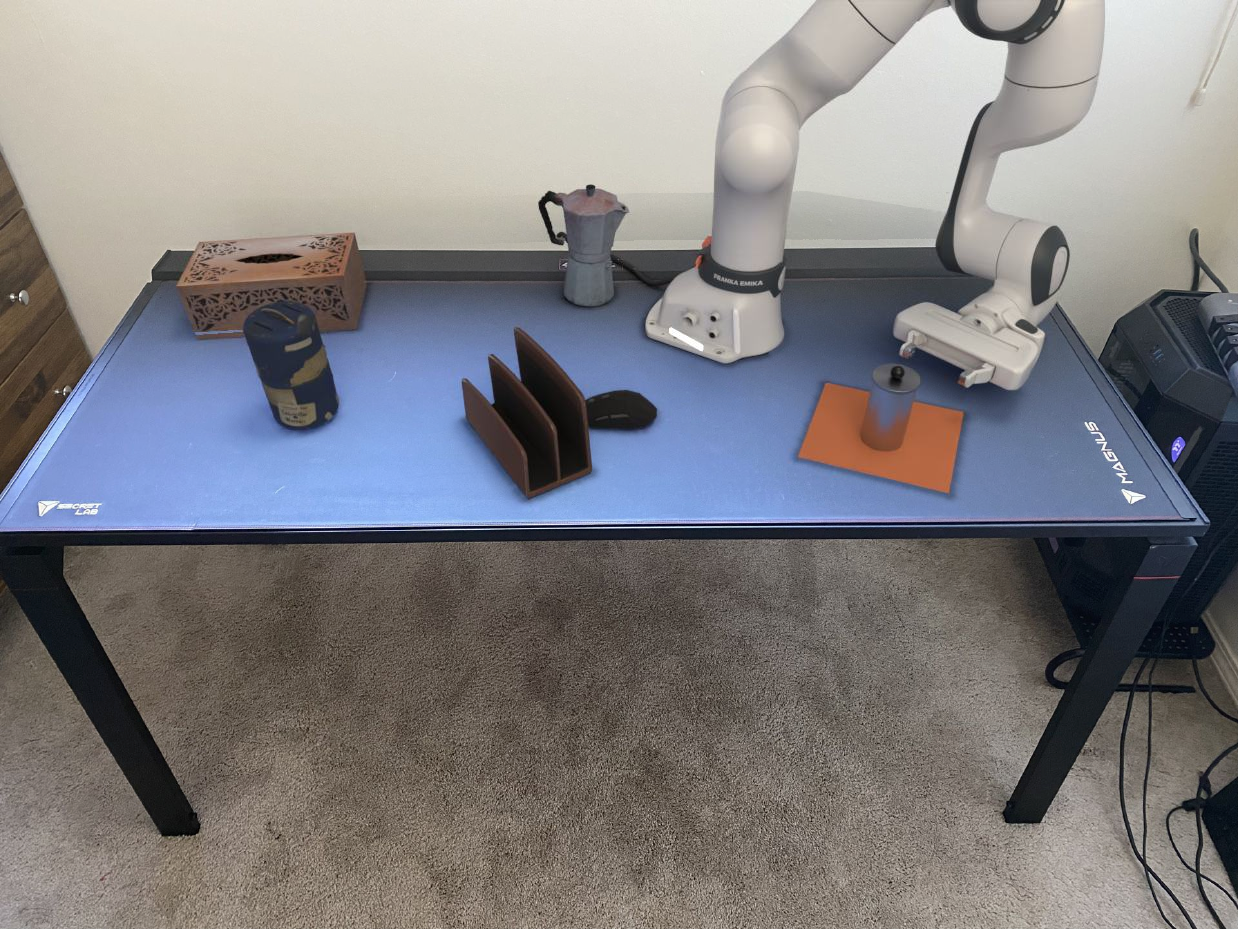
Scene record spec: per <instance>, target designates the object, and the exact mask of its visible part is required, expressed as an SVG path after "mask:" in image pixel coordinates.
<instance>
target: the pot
mask: <svg viewBox="0 0 1238 929" xmlns="http://www.w3.org/2000/svg"><path fill="white" fill-rule="evenodd" d="M921 383H922V379H921V376H920V375H919V374H918V372H917V371H916V370H914V369H912V368H911V367H909V366H906V365H904V364H901V363H885V364H880V365H879V366H876V367H875V368H874V370H873V371H872V373H871V385H870V391H869V392H870V394H869V399H868V403H867V408H866V412H865V417H864V422H863V426H862V431H861V439H862V441H863V442H864V443H865V444H866V445H867V446H868V447H870V448H872V449H875V450H878V451H886V452H887V451H894V450H896V449H898V448H900V447H901V446H902V444H903V441H904V437H905V433H906V429H907V426H908V422H909V418H910V414H911V410H912V407H913V403H914V402H915V398H916V395H917V391H918V389H919V388H920V385H921Z"/></svg>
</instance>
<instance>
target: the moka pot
mask: <svg viewBox="0 0 1238 929" xmlns="http://www.w3.org/2000/svg"><path fill="white" fill-rule="evenodd" d="M550 202H551V203H552V204H554V205H555V206H557V207H558V206H559V207H561V208H562V210H563V218H564V225H565V233H566V234H567V241H568V244H567V250H568V253H567V259H566V260H567V261H566V269H565V276H564V281H563V282H564V283H563V296H564V297H565V299H567V301H569V302H571V303H573V304H575V305H578V306H582V307H597V306H602V305H604V304H606V303H608V302H610V301H611V300H612V298H613V297H614V296H615V289H614V280H613V279H614V278H613V269H612V268H613V267H612V260H611V258H610V254H612V248H613V247H614V242H615V237H616V232H617V231H618V229H619V227H620V226H621V223H622V221H623V219H624V218H625V216H626V215H627V214H629V213H630V209H629V206H626V204H625V203H622V202H620V201H619V200H618V196H617V194H614V193H612V192H609V191H607V190H604V189H603V188H596V185H594V184H591V183H590V184H586V186H585V188H577V189H576V190H573V191H571V192H569V193H565V192H558V193H557V192H555V191H552V190H547V192H545V193H544V195H542V197H541V198H540V200H538V201H537V205H538V211H539V213H540V217H541V219H542V220H543V224H544V226H545V229H546V232H547V235H548V238H549V241H550V243H551V244H553V245H558V246H565V245H564V244H565V243H566V241H565V240H564V239H560V238H558V237H556V235H557V234H556V233H555V231H554V230H553V224H552V220H551V218H550V216H549V212H548V209H547V207H546V205H547V204H548V203H550Z"/></svg>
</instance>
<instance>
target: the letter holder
mask: <svg viewBox="0 0 1238 929" xmlns="http://www.w3.org/2000/svg"><path fill="white" fill-rule="evenodd" d="M513 338H514V344H515V350H516V357H517V365H518V371H519V376H520V378H519V377H518V376H517V375H516V374H515V373H514V372H513V371H512V370H511V369H510V367H508V366H507V365H506V364H504V362H503V361H502V360H501V359H499V357H497V356H496V355H495V354H494V353H489V354H488V356H487V361H488V368H489V375H490V382H491V388H492V389H491V390H492V395H493V402H494V403H491V402H490V401H489V400H488V399H487V398H486V397H485V395H483V393H482V392H481V391H479V390H478V388H477V387H476V386H474V385H473V383H472V382H471V381H470V380H469V379H468V378H465V377H463V378H462V379H461V390H462V398H463V405H464V413H465V419H466V421H467V422H468V423H469V425H470V426H471V427H472V429H473V430H474V431H475V433H476V434H477V435H478V436H479V438H480V440H482V441H483V443H484V445H485V446H487V448H488V449H489V451H490V452H491V453H492V454H493V456H494V458H496V460H497V461H498V463H499V464H500V465H501V466H502V468H503V469H504V470H505V471H506V473H507V475H508V476H509V477H510V478H511V480H512V481H513V482H514V483H515V484H516V486H517V487H518V488H519V489H520V491H521V492H522V493H523V495H524V496H525V497H526V499H531V498H534V497H536V496H538V495H541V494H543V493H546V492H548V491H550V490H554V489H555V488H558V487H561V486H562V485H565V484H567V483H570V482H572V481H574V480H578V479H580V478H582V477H584V476H586V475H589V474H591V473H592V472H593V462H592V460H593V459H592V452H591V441H590V428H589V427H588V421H587V412H586V401H585V400H586V398H585V395H584V393H583V392H582V391H581V390H580V388H579V387H578V386H577V385H576V383H575V382H574V380H572V379H571V377H570V376H569V374H568V373H567V372H566V371H565V370H564V369H563V368H562V366H561V365H560V364H559V363H558V362H557V361H556V360H555V358H553V357H552V356H551V354H550V353H548V352H547V351H546V350H545V349H544V348H543V347H542V346H541V345H540V344H539V343H538V342H537V341H536V340H535V339H534V338H532V336H530V335H529V334H528V333H527V332H525V330H523V329H522V328H521V327H519V326H515V327H514V328H513Z"/></svg>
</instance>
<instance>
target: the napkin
mask: <svg viewBox="0 0 1238 929" xmlns="http://www.w3.org/2000/svg"><path fill="white" fill-rule="evenodd" d="M823 386H824V387H823V389H822V392H821V394H820V397H819V400H818V402H817V404H816V407H815V410H814V413H813V415H812V418H811V420H810V423H809V426H808V428H807V431H806V435H805V436H804V439H803V441H802V443H801V444H802V445H801V446H800V449H799V452H798V454H797V457H798V458H800V459H805V460H810V461H814V462H817V463H822V464H824V465H825V464H826V465H830V466H833V467H838V468H843V469H846V470H850V471H855V472H859V473H862V474H867V475H871V476H875V477H879V478H884V479H889V480H892V481H897V482H900V483H905V484H908V485H913V486H917V487H921V488H925V489H929V490H934V491H938V492H942V493H946V494H949V493H950V490H951V484H952V479H953V473H954V468H955V461H956V456H957V453H958V452H957V451H958V447H959V446H958V445H959V441H960V435H961V430H962V425H963V419H964V411H961V410H957V409H956V410H955V409H951V408H947V407H942V406H937V405H933V404H928V403H924V402H918V401H914V403H913V407H912V410H911V414H910V418H909V422H908V426H907V429H906V433H905V437H904V441H903V444H902V446H901V447H900V448H898V449H896V450H894V451H887V452H886V451H878V450H875V449H872V448H870V447H868V446H867V445H866V444H865V443H864V442H863V441H862V439H861V431H862V426H863V422H864V417H865V412H866V408H867V403H868V399H869V394H870V391H867V390H862V389H857V388H855V387H854V388H853V387H849V386H844V385H839V384H835V383H830V382H825V384H824V385H823Z"/></svg>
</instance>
